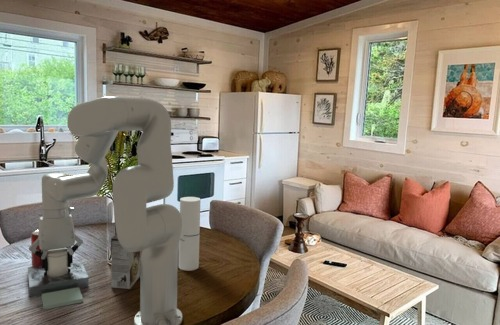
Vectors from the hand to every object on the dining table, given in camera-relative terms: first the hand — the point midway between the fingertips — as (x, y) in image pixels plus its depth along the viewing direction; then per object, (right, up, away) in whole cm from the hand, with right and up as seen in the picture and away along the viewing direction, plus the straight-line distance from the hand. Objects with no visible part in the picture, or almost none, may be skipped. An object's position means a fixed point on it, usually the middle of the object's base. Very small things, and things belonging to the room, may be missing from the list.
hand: (57, 267), depth 122 cm
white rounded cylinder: (0, -5, +1) cm, 5 cm away
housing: (0, -5, +1) cm, 5 cm away
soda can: (-11, -3, +13) cm, 17 cm away
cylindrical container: (+39, -4, +17) cm, 43 cm away
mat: (+7, -6, -11) cm, 14 cm away
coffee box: (+21, -6, +2) cm, 22 cm away
